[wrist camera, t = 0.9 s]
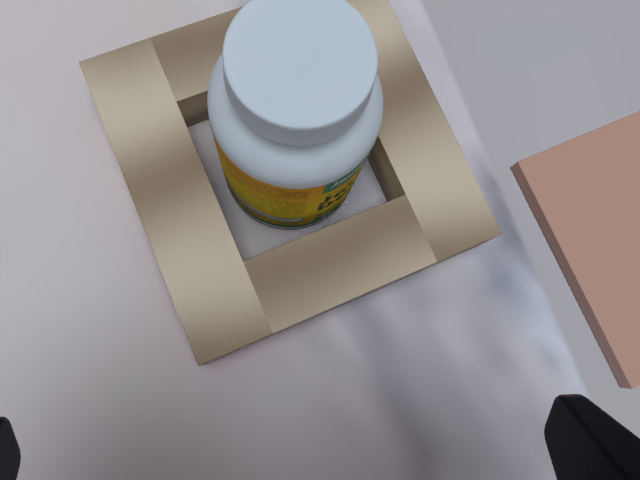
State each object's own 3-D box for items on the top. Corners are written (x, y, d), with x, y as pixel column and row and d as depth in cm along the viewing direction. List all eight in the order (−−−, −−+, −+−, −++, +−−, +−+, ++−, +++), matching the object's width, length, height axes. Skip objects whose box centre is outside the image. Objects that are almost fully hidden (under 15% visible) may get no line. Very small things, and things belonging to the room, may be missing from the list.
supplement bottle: (257, 88, 25) (249, -75, 15) (372, 139, 25) (437, 7, 15) (201, 200, 23) (156, 99, 14) (322, 253, 24) (359, 188, 14)
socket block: (478, 245, 24) (502, 233, 22) (206, 364, 22) (198, 365, 20) (360, 0, 26) (370, -37, 23) (98, 91, 24) (78, 61, 21)
